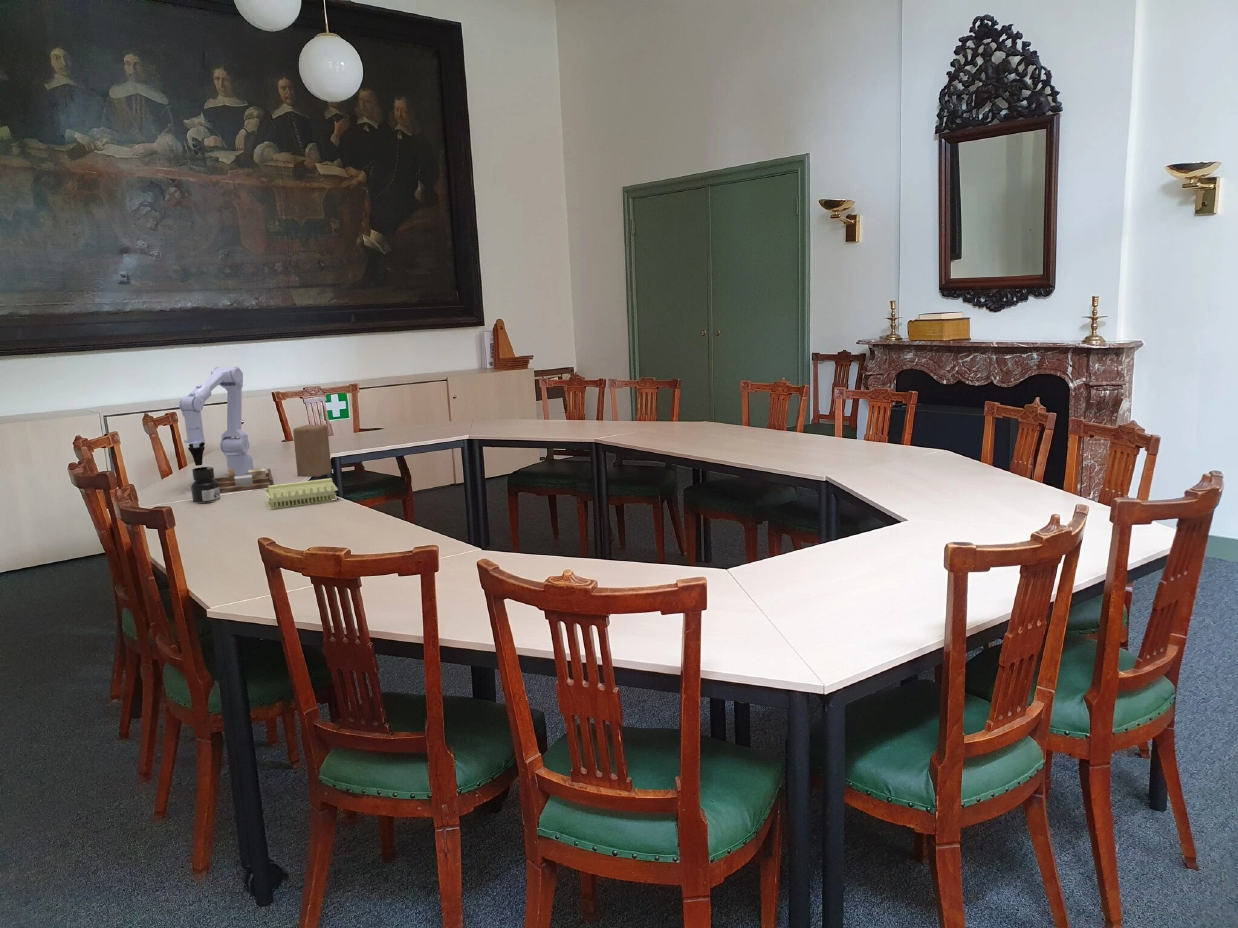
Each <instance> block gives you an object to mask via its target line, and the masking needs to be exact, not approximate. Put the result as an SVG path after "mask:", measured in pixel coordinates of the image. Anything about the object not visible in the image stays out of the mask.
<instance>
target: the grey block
mask: <svg viewBox="0 0 1238 928" xmlns="http://www.w3.org/2000/svg"><path fill="white" fill-rule="evenodd" d="M234 478H235V487H238V486H247V485H253V482H252V475H249V474H244V476H241V475H238V476H235V477H234Z"/></svg>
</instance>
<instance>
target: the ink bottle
mask: <svg viewBox="0 0 1238 928" xmlns="http://www.w3.org/2000/svg"><path fill="white" fill-rule="evenodd" d="M191 471H192V478H193V482H192V483H191V485H190V489H191V497H192V503H196V504H197V505H205V504H212V503H216V502H217V501H218V500H220V499H221V493H220V491H219V483H218V482H217V481H216V480H215V479H213V478H215V470H214V467H213V466H200V467H195V468H192V469H191Z"/></svg>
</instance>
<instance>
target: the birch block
mask: <svg viewBox="0 0 1238 928" xmlns="http://www.w3.org/2000/svg"><path fill="white" fill-rule="evenodd" d="M248 472H249V473H248V475H252V479H262V478H266V473H267V472H266V469H265V468H256V469H255V468H253V470H248ZM227 473H229V475H228V477H229V481H230V482H233V481H235V478H234V477H235V471H234V469H229V470H228V469H227Z"/></svg>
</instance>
